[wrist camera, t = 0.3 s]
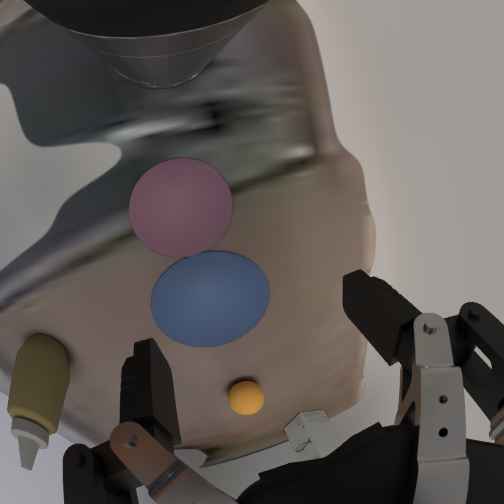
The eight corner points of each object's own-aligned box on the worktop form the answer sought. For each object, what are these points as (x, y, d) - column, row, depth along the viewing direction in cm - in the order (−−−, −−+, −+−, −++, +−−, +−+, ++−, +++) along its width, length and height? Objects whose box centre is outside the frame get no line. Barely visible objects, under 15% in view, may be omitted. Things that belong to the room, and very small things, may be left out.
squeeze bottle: (15, 324, 25) (-22, 442, 10) (65, 328, 28) (41, 461, 13) (34, 365, 29) (15, 472, 14) (80, 369, 31) (73, 485, 16)
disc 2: (131, 273, 27) (131, 274, 27) (259, 234, 30) (259, 235, 29) (175, 357, 35) (175, 358, 34) (275, 326, 37) (275, 327, 37)
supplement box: (299, 411, 53) (322, 458, 42) (323, 408, 56) (347, 451, 45) (282, 427, 55) (302, 471, 45) (306, 425, 58) (326, 465, 48)
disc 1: (115, 177, 22) (115, 177, 22) (220, 145, 24) (221, 145, 24) (149, 268, 28) (149, 269, 28) (240, 240, 29) (241, 241, 29)
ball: (220, 380, 40) (229, 410, 35) (255, 369, 40) (266, 398, 36) (228, 397, 42) (237, 424, 38) (260, 387, 43) (271, 413, 39)
